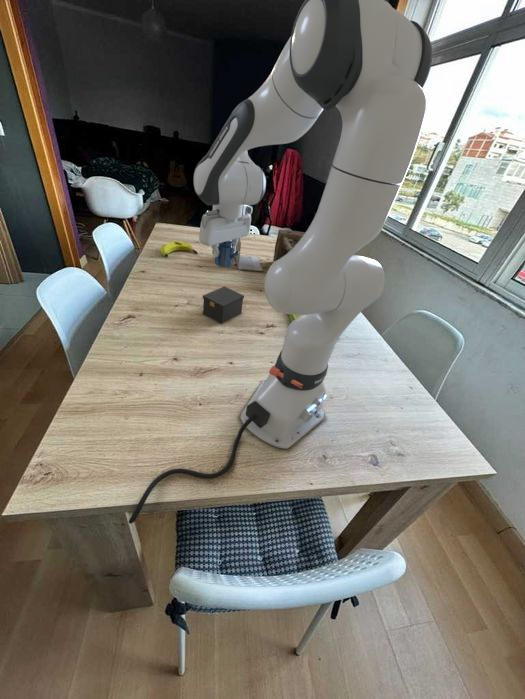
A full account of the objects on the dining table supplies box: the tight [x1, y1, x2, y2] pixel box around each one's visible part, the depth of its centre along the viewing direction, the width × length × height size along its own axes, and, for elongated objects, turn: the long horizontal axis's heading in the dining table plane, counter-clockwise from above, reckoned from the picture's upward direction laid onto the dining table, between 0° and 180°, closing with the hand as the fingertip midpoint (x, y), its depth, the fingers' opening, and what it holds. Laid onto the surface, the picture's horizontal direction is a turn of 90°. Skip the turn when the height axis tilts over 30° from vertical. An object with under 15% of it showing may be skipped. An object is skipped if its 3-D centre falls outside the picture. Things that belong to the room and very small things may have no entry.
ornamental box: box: [272, 229, 306, 262], centre depth 141 cm, size 35×18×18 cm, turn 7°
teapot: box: [212, 240, 239, 268], centre depth 95 cm, size 11×6×8 cm, turn 55°
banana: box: [160, 240, 198, 258], centre depth 146 cm, size 5×17×15 cm
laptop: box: [235, 238, 264, 272], centre depth 146 cm, size 18×12×13 cm
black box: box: [202, 286, 245, 324], centre depth 105 cm, size 12×10×7 cm
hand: (224, 253), depth 95 cm, fingers closed on teapot, 6 cm apart
